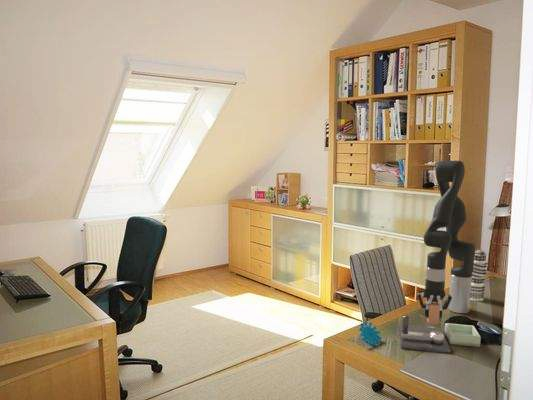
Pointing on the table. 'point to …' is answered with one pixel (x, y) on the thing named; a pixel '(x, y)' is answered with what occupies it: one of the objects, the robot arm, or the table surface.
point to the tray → (462, 334)
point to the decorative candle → (478, 276)
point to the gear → (369, 333)
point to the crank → (433, 336)
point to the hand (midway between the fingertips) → (432, 317)
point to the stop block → (434, 313)
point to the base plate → (421, 344)
